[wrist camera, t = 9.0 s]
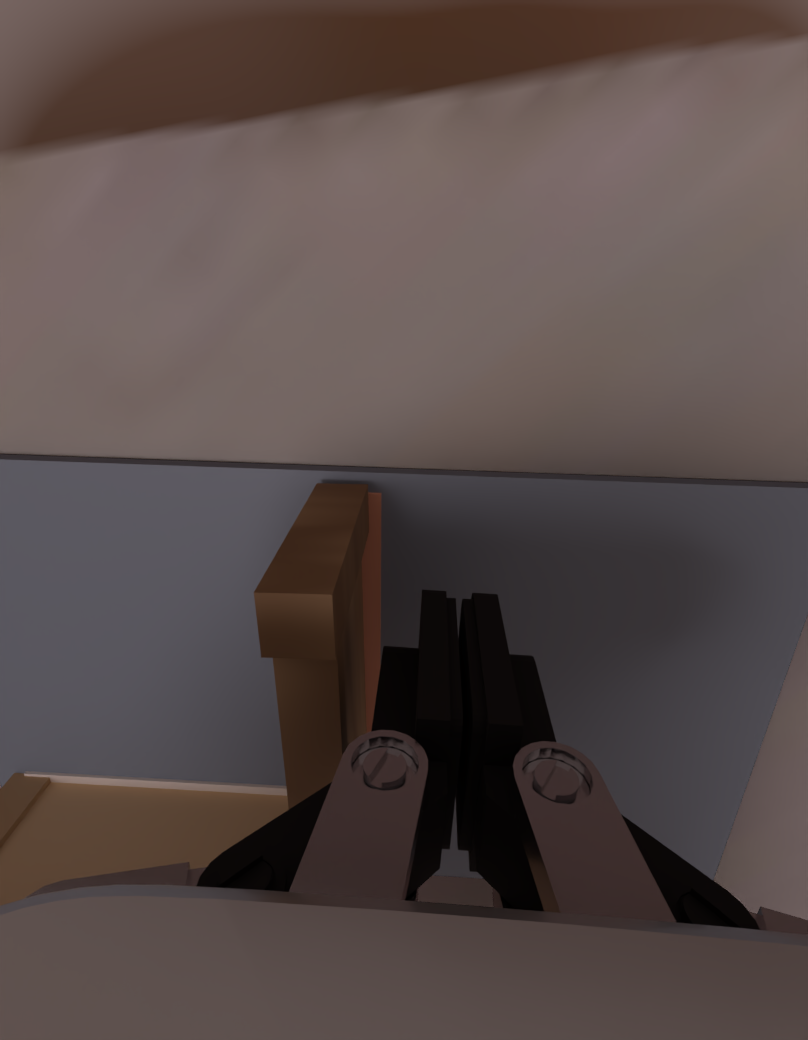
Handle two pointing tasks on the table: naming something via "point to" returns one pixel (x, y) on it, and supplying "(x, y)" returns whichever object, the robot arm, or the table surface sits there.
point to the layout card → (370, 640)
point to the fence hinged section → (317, 634)
